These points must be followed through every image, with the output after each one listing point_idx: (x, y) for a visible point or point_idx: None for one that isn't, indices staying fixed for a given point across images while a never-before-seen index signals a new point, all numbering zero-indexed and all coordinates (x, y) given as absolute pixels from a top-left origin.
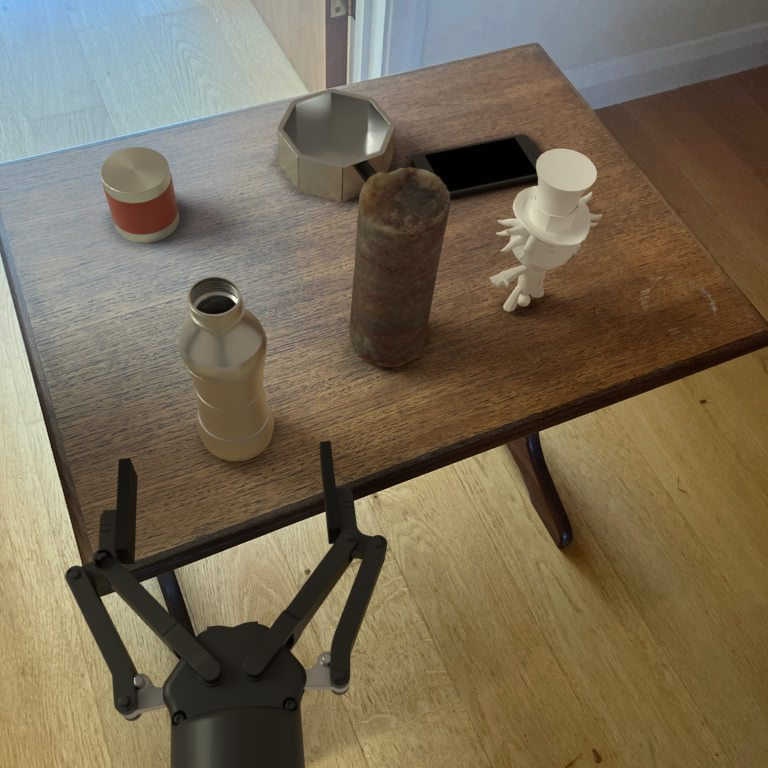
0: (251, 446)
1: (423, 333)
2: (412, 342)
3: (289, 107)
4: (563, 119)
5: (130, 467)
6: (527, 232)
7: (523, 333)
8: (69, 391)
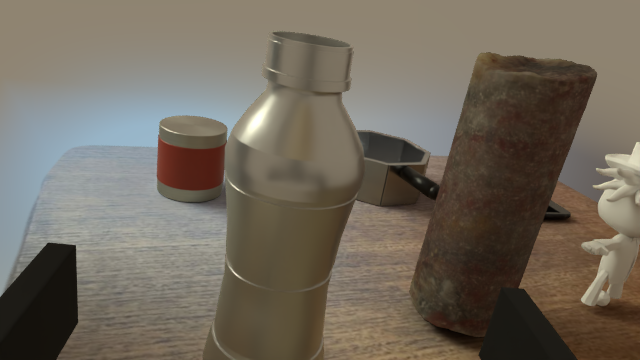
0: None
1: None
2: None
3: None
4: (560, 192)
5: (67, 263)
6: (638, 179)
7: (615, 331)
8: None
